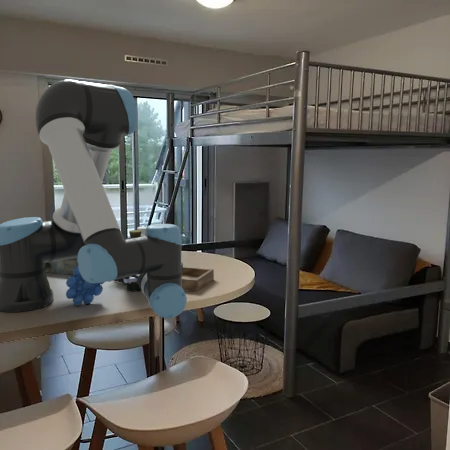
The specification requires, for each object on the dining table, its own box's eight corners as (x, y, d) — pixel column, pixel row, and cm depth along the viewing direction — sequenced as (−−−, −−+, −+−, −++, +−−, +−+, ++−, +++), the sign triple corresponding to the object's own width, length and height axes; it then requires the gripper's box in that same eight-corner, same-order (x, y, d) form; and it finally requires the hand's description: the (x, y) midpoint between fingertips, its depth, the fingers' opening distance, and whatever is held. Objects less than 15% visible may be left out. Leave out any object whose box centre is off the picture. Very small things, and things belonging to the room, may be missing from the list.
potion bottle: (141, 282, 139) (139, 228, 137) (155, 288, 133) (154, 231, 131) (118, 287, 134) (116, 230, 131) (132, 293, 128) (130, 234, 125)
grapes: (100, 295, 126) (98, 255, 124) (111, 301, 121) (109, 259, 119) (60, 304, 118) (58, 262, 117) (70, 311, 114) (68, 266, 112)
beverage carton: (58, 267, 160) (57, 250, 159) (101, 272, 153) (101, 254, 152) (42, 272, 152) (41, 254, 151) (87, 277, 146) (86, 258, 145)
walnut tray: (156, 287, 135) (155, 276, 134) (175, 275, 148) (175, 265, 147) (197, 291, 130) (196, 280, 130) (213, 279, 143) (213, 269, 143)
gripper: (103, 304, 100) (96, 280, 119) (205, 293, 108) (183, 272, 128) (101, 273, 99) (95, 254, 118) (205, 264, 107) (183, 247, 127)
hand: (141, 263), depth 123 cm, fingers open, 13 cm apart
